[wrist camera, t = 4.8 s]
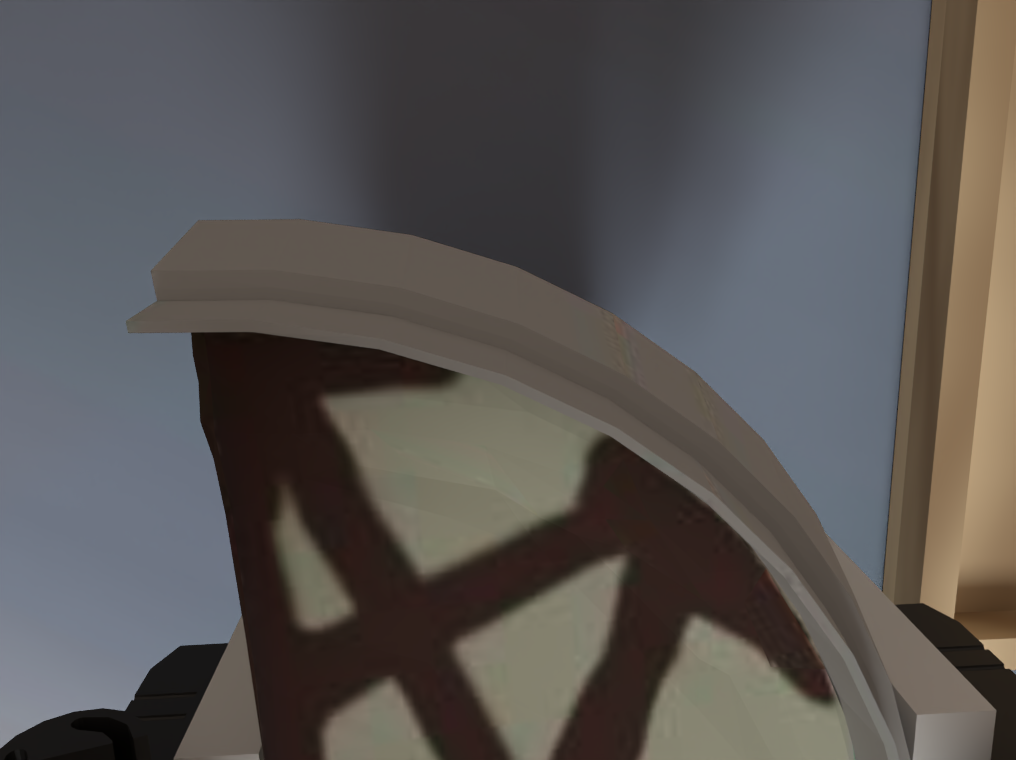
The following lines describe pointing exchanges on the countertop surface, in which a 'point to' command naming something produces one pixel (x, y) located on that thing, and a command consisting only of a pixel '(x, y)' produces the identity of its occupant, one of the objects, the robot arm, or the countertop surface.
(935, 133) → the tray
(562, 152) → the countertop surface
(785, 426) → the countertop surface
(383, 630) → the brown white half-round block
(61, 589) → the countertop surface
